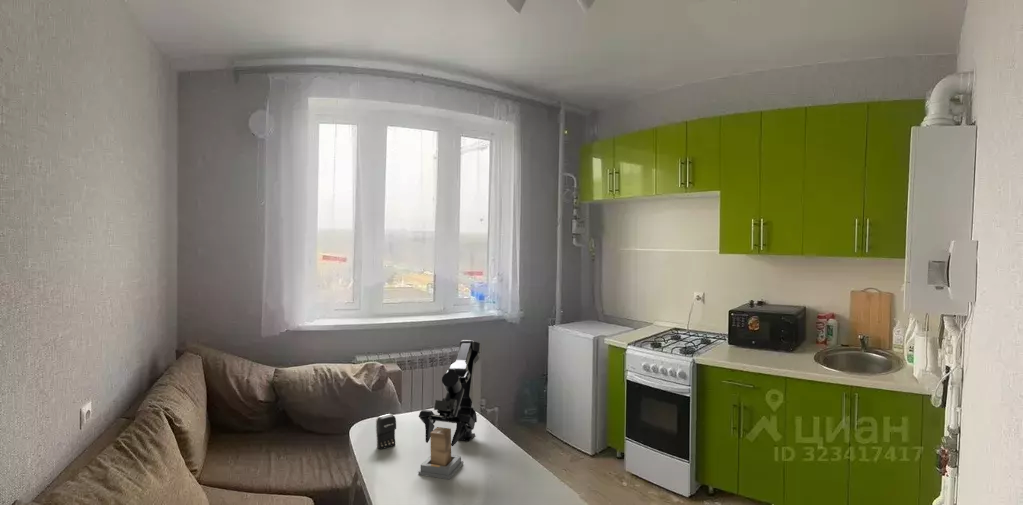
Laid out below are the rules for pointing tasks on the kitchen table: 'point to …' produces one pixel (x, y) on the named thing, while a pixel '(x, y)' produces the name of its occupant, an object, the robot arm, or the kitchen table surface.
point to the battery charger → (385, 431)
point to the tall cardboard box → (441, 446)
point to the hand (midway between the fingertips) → (439, 444)
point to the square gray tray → (441, 468)
